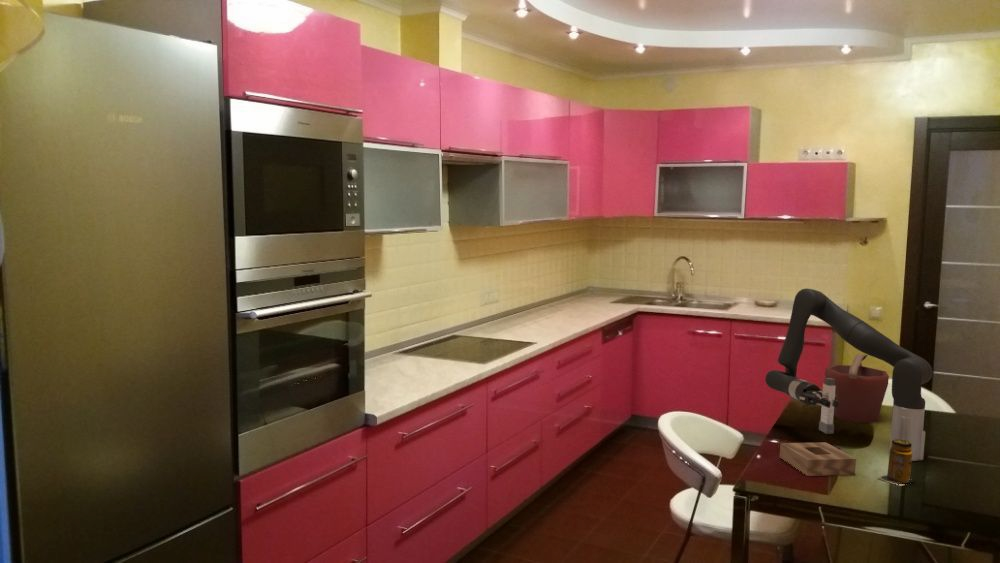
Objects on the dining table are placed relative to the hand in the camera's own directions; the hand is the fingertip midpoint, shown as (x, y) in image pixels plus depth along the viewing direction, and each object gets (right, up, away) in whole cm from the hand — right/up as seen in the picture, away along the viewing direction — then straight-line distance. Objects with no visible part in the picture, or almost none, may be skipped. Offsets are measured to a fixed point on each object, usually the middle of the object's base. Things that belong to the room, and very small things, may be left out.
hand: (833, 404), depth 244 cm
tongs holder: (-10, -18, -9) cm, 22 cm away
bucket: (+31, -14, +50) cm, 61 cm away
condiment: (+10, -20, -20) cm, 30 cm away
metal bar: (-1, -10, +4) cm, 10 cm away
